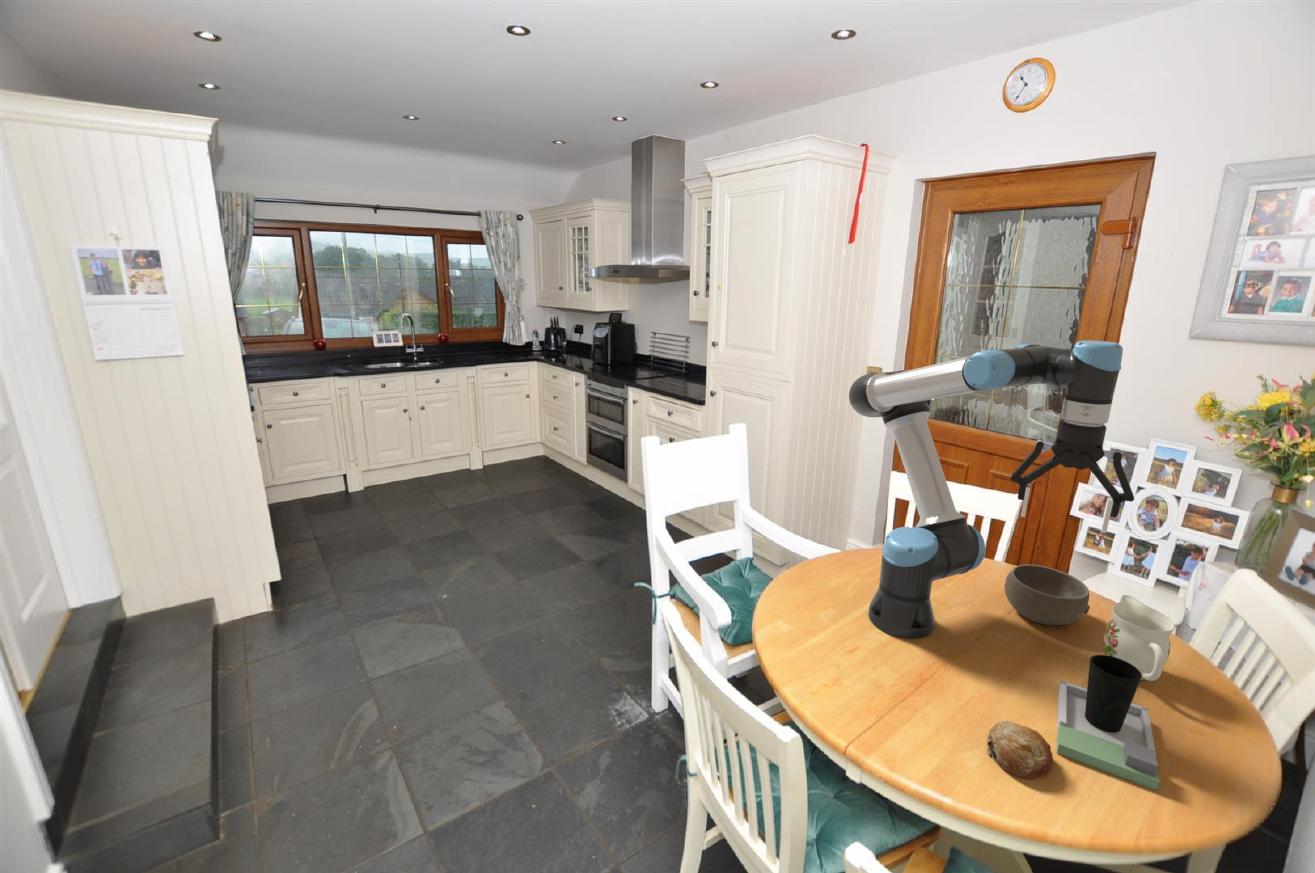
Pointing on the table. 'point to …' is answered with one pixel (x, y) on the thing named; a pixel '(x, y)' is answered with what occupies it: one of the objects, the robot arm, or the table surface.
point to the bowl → (1046, 594)
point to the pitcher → (1139, 636)
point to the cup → (1110, 691)
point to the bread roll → (1019, 750)
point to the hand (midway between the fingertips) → (1061, 522)
